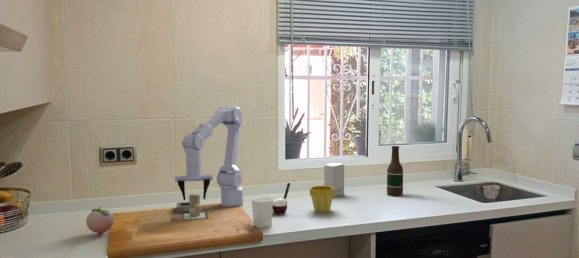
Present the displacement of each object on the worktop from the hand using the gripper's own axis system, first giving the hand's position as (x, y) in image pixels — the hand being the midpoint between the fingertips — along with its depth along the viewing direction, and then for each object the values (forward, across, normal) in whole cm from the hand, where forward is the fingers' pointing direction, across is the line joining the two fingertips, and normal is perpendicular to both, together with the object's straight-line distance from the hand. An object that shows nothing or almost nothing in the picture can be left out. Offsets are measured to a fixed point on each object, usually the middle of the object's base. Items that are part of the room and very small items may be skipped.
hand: (194, 199), depth 177 cm
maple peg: (+7, 0, 0) cm, 7 cm away
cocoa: (+9, +35, +2) cm, 36 cm away
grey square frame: (+7, -3, +10) cm, 13 cm away
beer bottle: (+9, +96, +22) cm, 99 cm away
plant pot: (+9, +53, +2) cm, 54 cm away
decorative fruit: (+8, -33, -12) cm, 36 cm away
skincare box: (+9, +67, +28) cm, 73 cm away
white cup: (+9, +25, -14) cm, 30 cm away
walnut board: (+8, -2, +5) cm, 10 cm away
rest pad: (+7, 0, 0) cm, 7 cm away
